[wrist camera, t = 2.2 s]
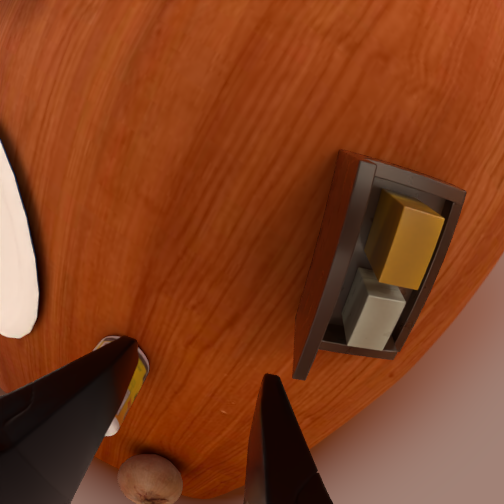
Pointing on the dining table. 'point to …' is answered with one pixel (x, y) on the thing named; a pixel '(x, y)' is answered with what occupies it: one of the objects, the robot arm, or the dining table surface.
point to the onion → (150, 480)
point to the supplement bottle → (132, 390)
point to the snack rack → (373, 259)
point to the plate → (15, 258)
